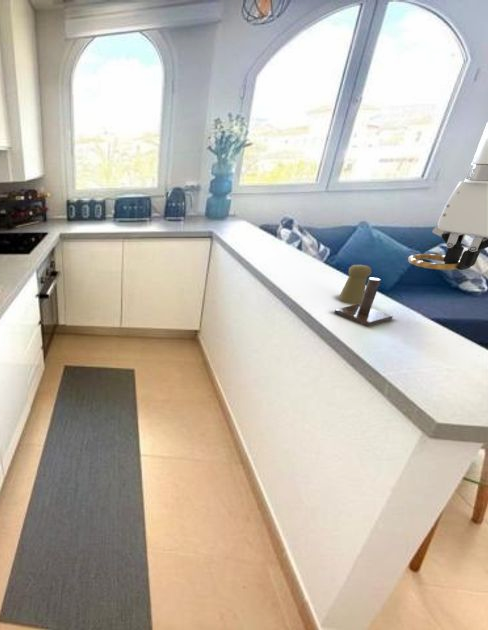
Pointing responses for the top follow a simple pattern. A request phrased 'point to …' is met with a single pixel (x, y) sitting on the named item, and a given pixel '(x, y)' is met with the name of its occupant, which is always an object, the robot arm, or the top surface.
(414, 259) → the ring
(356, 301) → the cork
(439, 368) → the top surface
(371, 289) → the rack
